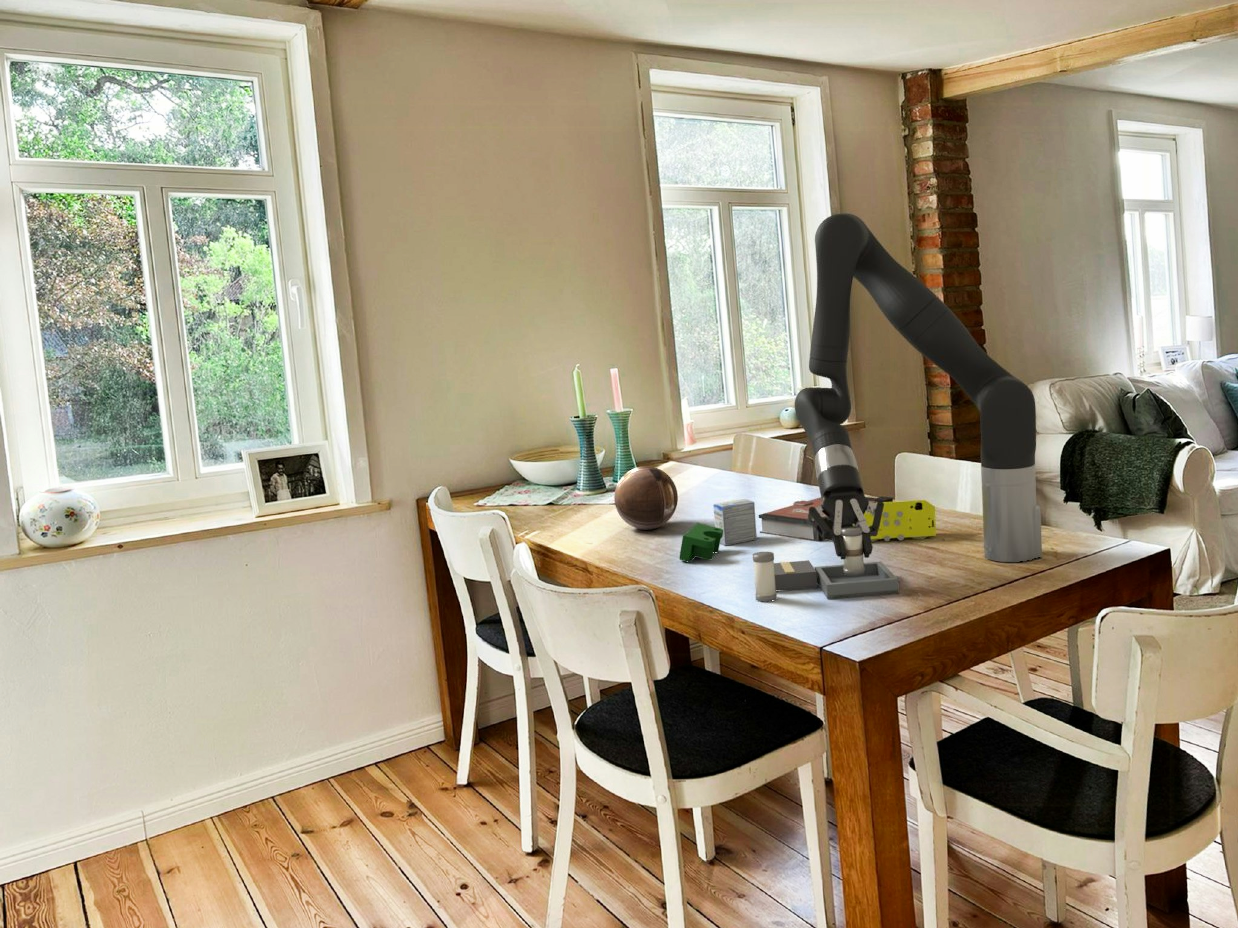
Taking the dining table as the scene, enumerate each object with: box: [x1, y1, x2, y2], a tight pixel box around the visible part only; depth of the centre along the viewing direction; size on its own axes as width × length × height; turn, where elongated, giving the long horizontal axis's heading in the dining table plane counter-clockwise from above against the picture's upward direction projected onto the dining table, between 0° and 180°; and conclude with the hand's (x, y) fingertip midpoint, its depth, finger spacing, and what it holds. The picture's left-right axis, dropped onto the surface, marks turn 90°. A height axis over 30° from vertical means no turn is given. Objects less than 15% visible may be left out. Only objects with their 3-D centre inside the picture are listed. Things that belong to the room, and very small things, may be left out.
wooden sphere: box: [613, 465, 679, 531], centre depth 233 cm, size 15×15×15 cm
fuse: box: [752, 551, 778, 602], centre depth 170 cm, size 4×4×8 cm
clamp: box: [679, 522, 723, 563], centre depth 203 cm, size 12×6×9 cm
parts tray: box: [813, 561, 900, 600], centre depth 173 cm, size 12×12×2 cm
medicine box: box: [713, 498, 758, 547], centre depth 213 cm, size 8×4×9 cm, turn 111°
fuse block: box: [774, 559, 818, 591], centre depth 178 cm, size 9×8×3 cm
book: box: [758, 495, 894, 543], centre depth 221 cm, size 26×18×5 cm
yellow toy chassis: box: [853, 499, 937, 543], centre depth 203 cm, size 16×6×8 cm, turn 82°
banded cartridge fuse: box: [841, 526, 865, 576], centre depth 172 cm, size 4×4×8 cm
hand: (855, 555), depth 170 cm, fingers closed on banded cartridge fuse, 3 cm apart
